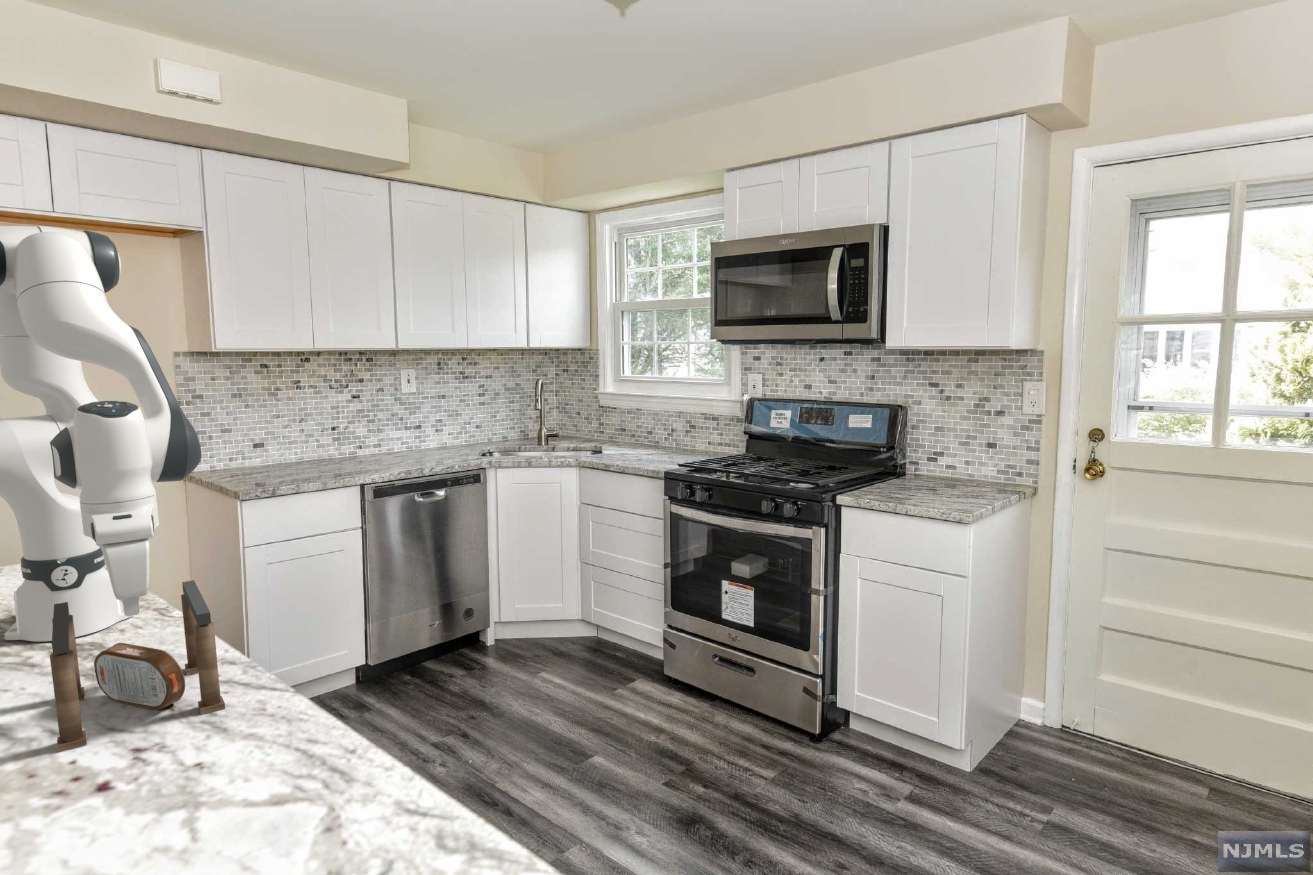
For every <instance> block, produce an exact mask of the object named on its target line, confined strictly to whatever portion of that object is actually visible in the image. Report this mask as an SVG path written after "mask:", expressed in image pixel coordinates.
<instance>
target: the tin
mask: <svg viewBox="0 0 1313 875" xmlns="http://www.w3.org/2000/svg"><path fill="white" fill-rule="evenodd" d="M93 666H94V674H95V677H96V681H97V682H96V683H97V686H98V687H99V689H100V690H101V692H102V693H103V694H104V695H105V696H106V697H107V698H109V699H110V700H112V701H114V702H116V703H121V704H126V705H129V706H135V707H139V708H143V709H149V710H155V711H157V710H162V709H164V708H166V707H168V706H169V705H171V704H174V703H177V702H179V701H180V700H181V699H182V698H183V696H184V693H185V691H186V680H185V674H184V672H183V669H182V668H181V666H180V663H178V661H177V660H176V659H175V657H173V656H172V655H171V654H170V653H168V652H166V651H165V650H162V649H159V648H153V647H147V646H144V645H143V646H141V645H136V644H131V643H126V642H117V643H115V644H114V645H112V646H111V647H108V648H106V649H104V650H102V651H101V652H99V653H98V654H97V655H96V656H95V659H94V661H93Z"/></svg>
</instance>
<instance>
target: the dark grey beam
mask: <svg viewBox="0 0 1313 875" xmlns="http://www.w3.org/2000/svg"><path fill="white" fill-rule="evenodd" d="M181 583H182V584H181V585H182V592H183V593H182V594H184V595H185V597H186V600H187V602H188V604H189V606H190V609H191V611H192V613H193V616H194V618H195V620H196V622H197V625H198V626H200V625H205V624H210V623H211V622H212V618H211V617H212V616H211V611H210V609H209V608H208V605H207V603H206V601H205V599H204V597H203V594H202V593H201V591H200V590H199V588H198V585H197V583H196V582H195V580H192V579H191V580H186V581H182V582H181Z"/></svg>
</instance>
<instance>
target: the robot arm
mask: <svg viewBox="0 0 1313 875" xmlns="http://www.w3.org/2000/svg"><path fill="white" fill-rule="evenodd" d="M121 272H122V260H121V256H120V254H119V252H118V249H117V246H116V245H115V242H114V241H113V240H112V239H110V237H109V236H108V235H105V234H102V233H99V232H96V231H91V230H86V229H85V230H82V231H79V230H75V229H71V228H70V229H69V228H64V227H63V228H62V227H56V226H48V225H47V226H45V225H35V226H33V225H31V226H29V225H0V376H1V378H2V379H3V381H4V382H5V384H6V385H7V386H8V387H10V388H12V389H13V390H15V391H17V392H20V393H23V394H24V395H28V396H30V397H34V398H37V399H39V400H40V401H41V402H42V404H43V406H44V409H45V414H43V415H34V416H32V415H31V416H20V417H7V418H0V497H1V498H2V499H3V500H4V501H5V502H6V503H7V504H8V506H9V508H10V509H11V510H12V512H13V514H14V517H15V520H16V523H17V527H18V531H19V536H20V541H21V542H20V543H21V547H22V555H23V556H22V557H21V558H20V571H21V575H22V578H23V579H24V580H23V582H22V583H21V584H20V585H19V586H18V587H17V589H16V590H15V591H14V593H13V602H14V610H15V622H14V623H13V624H12V625H11V626H10V627H9V629H8V630H7V631H6V632H5V633H4V640H5V641H28V642H37V643H38V642H52V630H53V624H52V619H53V613H54V604H59V603H64V602H68V608H69V615H73V622H74V631H75V638H79V637H81V636H86V635H90V634H93V633H95V632H99V631H101V630H104V629H107V628H109V627H111V626H113V625H115V624H116V623H118V622H121V621H124V620H126V619H130V618H131V617H134V616H137V615H139V614H140V611H141V608H140V597H144V596H147V595H148V592H149V588H150V586H149V585H150V550H151V549H150V543H151V542H150V541H151V539H150V538H153V537H154V535H155V530H156V528H157V527H159V525H160V518H159V517H160V516H159V507H158V501H157V500H158V498H157V491H156V488H155V486H154V482H156V483H167V482H168V483H169V482H182V481H183V480H184V479H186V478H187V477H188V476H189V475H191V474H192V473H193V472H194V471H195V469H196V468H197V467H198V465H200V463H201V460H202V446H201V442H200V439H199V437H198V434H197V431H196V430H195V427H194V426H193V424H192V423H191V422H190V420H189V419H188V417H187V416H186V414H185V412H184V411H183V409H182V408H181V406H180V404H179V402H178V400H177V398H176V396H175V394H174V392H173V390H172V388H171V386H170V383H169V381H168V379H167V378H166V376H165V374H164V372H163V369H162V367H161V366H160V364H159V362H158V360H157V358H156V356H155V354H154V352H153V350H152V348H151V347H150V345H149V343H148V341H147V340H146V338H145V337H144V335H143V334H142V332H141V331H140V330H139V329H138V328H136V327H134V326H132V325H129V324H127V323H126V322H125V321H123V320H122V319H121V318H120V317H119V316H118V314H116V313H115V312H114V310H113V309H112V307H111V306H110V304H109V302H108V299H107V297H106V293H108V292H110V291H111V290H112V289H114V288H116V286H117V285H118V283H119V281H120V280H119V279H120V277H121ZM83 362H85V363H88V364H92V365H96V366H99V367H101V368H102V367H103V368H105V369H109V370H111V371H113V372H115V373H118V374H120V375H121V376H123V377H124V378H125V379H126V380H127V382H129V384H130V385H131V387H132V389H133V391H134V393H135V395H136V397H137V399H138V402H139V403H140V406H141V407H140V406H138V405H137V404H135V403H132V402H130V401H129V402H128V401H119V400H98V398H97V397H96V396H95V395H94V393H93V392H92V391H91V388H90V387H89V385H88V383H87V380H86V379H85V375H84V372H83V371H84V370H83V366H82V363H83ZM141 408H142V409H143V412H144V413H143V412H142V409H141ZM144 414H145V415H146V418H145V417H144ZM55 480H56V481H59V482H60V483H61V484H63V485H65V486H66V487H68V488H72V489H77V490H79V489H80V496H77V495H73V494H70V493H67V492H66V493H65V492H62V491H61V492H60V491H59V489H58V487H57V484H56V482H55ZM105 566H106V568H105ZM121 600H122V601H121Z"/></svg>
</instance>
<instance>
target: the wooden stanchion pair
mask: <svg viewBox="0 0 1313 875" xmlns="http://www.w3.org/2000/svg"><path fill="white" fill-rule="evenodd" d="M180 598H181V609H182V620H183V621H182V622H183V631H184V639H185V648H186V649H185V650H186V660H187V663H184V669H185V672H186V675H187V676H190V675H194V674H198V684H199V691H200V692H199V693H200V700H199V701H197V707H198V709H199V713H200V715H201V716H203V715H206V714H209V713H213V712H217V711H221V710H225V709H226V704H225V701H224V698H223V696H222V695H221V690H220V689H221V688H220V678H219V666H218V656H217V645H216V644H217V643H216V634H215V623H214V622H213V621H211V623H210V624H205V625H200V626H198V625H197V622H196V620H195V618H194V616H193V613H192V611H191V609H190V606H189V604H188V602H187V600H186V597H185V595H184V593H182V594H181V595H180ZM52 624H53V619H52ZM77 649H78V648H77V640H76V637H75V631H74V622H73V615H69V652H67V653H62V654H57V655H53V652H52V653H51V654H50V655H49V661H50V662H49V663H50V670H51V676H52V678H51V679H52V686H53V693H54V703H55V709H56V718H57V727H58V735H59V736H57V737H56V742H57V743H56V749H57V753H60V752H61V753H62V752H65V751H69V750H72V749H75V748H80V747H85V746H87V744H88V743H87V740H88V739H87V730H86V729H84V730H83V723H82V716H81V708H80V701H83V700H86V693H85V687H84V686H82V683H81V675H80V674H81V673H80V666H79V665H80V664H79V657H78V650H77Z"/></svg>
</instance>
